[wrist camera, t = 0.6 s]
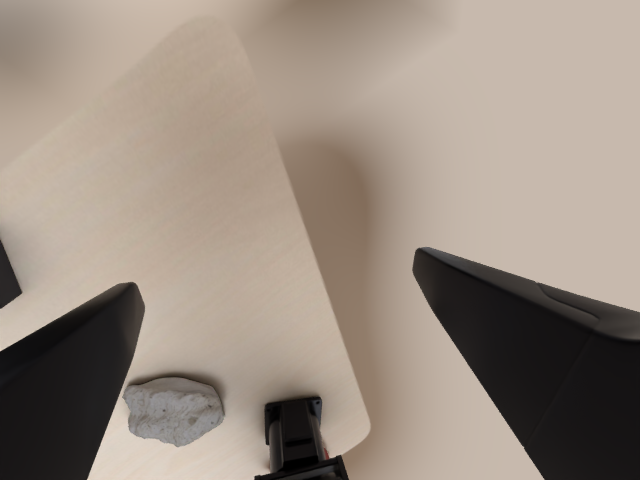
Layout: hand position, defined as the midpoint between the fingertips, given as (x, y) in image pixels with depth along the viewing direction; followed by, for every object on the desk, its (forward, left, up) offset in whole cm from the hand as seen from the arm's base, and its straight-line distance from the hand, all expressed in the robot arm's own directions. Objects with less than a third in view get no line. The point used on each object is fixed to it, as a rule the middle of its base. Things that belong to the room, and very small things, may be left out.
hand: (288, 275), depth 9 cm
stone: (-23, +10, -15) cm, 29 cm away
